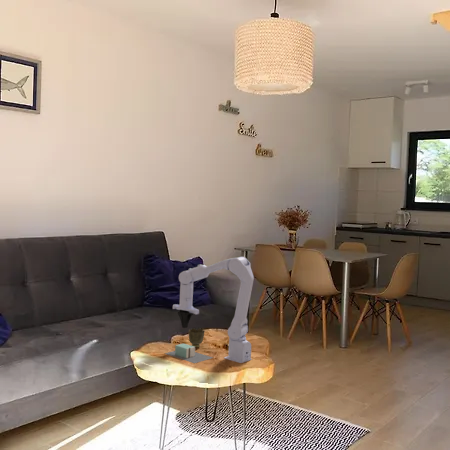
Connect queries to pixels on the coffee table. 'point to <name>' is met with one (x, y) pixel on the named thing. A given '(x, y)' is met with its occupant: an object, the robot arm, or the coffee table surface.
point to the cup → (196, 336)
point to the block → (184, 350)
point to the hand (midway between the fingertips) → (184, 327)
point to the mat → (194, 359)
